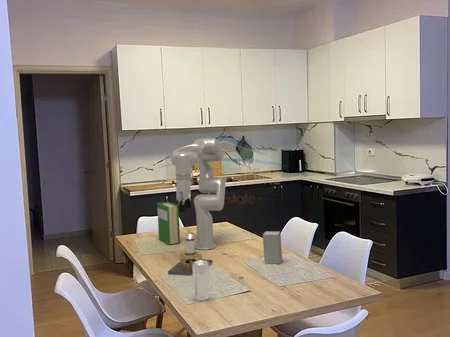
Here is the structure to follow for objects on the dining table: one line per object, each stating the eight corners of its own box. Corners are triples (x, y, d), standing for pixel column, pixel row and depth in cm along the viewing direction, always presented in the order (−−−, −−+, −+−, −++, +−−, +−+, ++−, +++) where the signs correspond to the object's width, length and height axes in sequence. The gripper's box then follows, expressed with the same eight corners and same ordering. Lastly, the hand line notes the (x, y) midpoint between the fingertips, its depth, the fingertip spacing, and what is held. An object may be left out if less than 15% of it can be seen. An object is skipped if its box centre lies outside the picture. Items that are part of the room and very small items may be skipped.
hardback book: (180, 243, 278) (178, 205, 276) (168, 245, 275) (167, 206, 273) (169, 238, 294) (168, 201, 292) (159, 239, 290) (157, 202, 288)
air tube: (188, 263, 230) (187, 232, 229) (196, 264, 229) (195, 233, 228) (185, 266, 226) (183, 234, 225) (193, 266, 225) (192, 235, 223)
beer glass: (193, 295, 190) (191, 260, 188) (209, 294, 190) (208, 259, 189) (193, 301, 183) (192, 265, 181) (210, 300, 183) (209, 264, 182)
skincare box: (282, 261, 235) (281, 231, 233) (279, 265, 228) (278, 234, 227) (266, 260, 238) (265, 230, 236) (263, 263, 231) (262, 233, 230)
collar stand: (183, 261, 240) (183, 247, 240) (212, 262, 236) (212, 248, 235) (168, 274, 219) (167, 259, 218) (199, 276, 215) (198, 260, 214)
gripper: (181, 175, 240) (183, 206, 242) (170, 179, 223) (172, 213, 225) (195, 174, 238) (196, 206, 240) (184, 179, 222) (186, 213, 224)
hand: (185, 210), depth 233 cm, fingers open, 9 cm apart
